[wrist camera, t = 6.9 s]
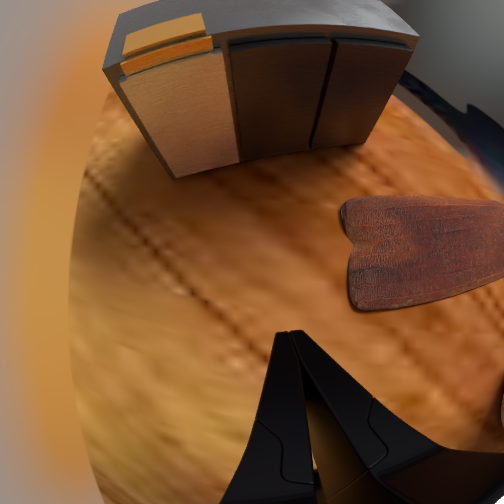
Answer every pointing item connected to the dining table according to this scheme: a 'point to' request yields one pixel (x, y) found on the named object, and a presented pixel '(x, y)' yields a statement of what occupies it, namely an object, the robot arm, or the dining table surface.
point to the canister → (502, 412)
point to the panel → (186, 111)
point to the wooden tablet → (421, 248)
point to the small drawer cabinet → (276, 65)
